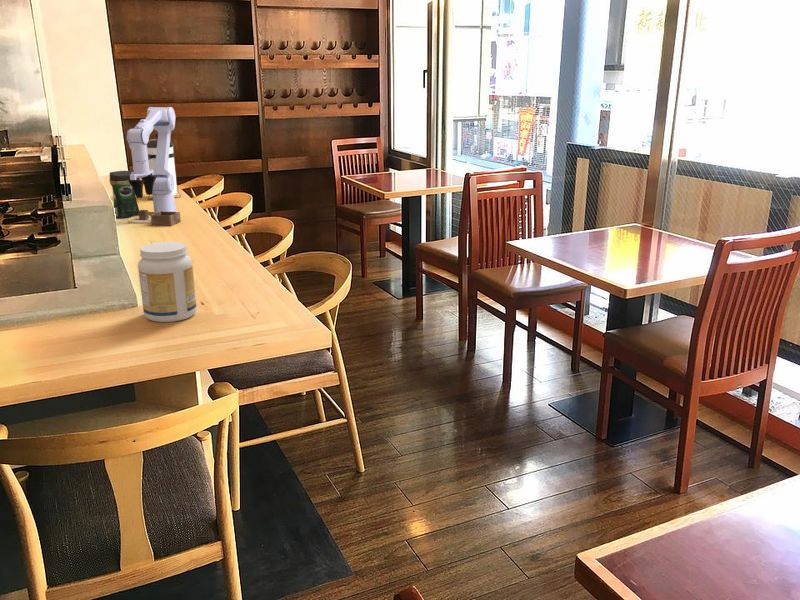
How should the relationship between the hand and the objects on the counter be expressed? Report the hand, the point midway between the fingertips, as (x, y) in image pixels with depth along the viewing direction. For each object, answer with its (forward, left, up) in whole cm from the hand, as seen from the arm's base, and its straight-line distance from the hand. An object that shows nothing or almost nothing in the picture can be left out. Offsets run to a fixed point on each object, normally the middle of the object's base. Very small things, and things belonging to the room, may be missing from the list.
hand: (144, 196), depth 264 cm
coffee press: (-53, -19, -11) cm, 57 cm away
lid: (+1, -1, -10) cm, 10 cm away
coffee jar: (-10, -14, -11) cm, 20 cm away
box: (+4, +10, -10) cm, 15 cm away
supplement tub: (+103, +59, -11) cm, 119 cm away
